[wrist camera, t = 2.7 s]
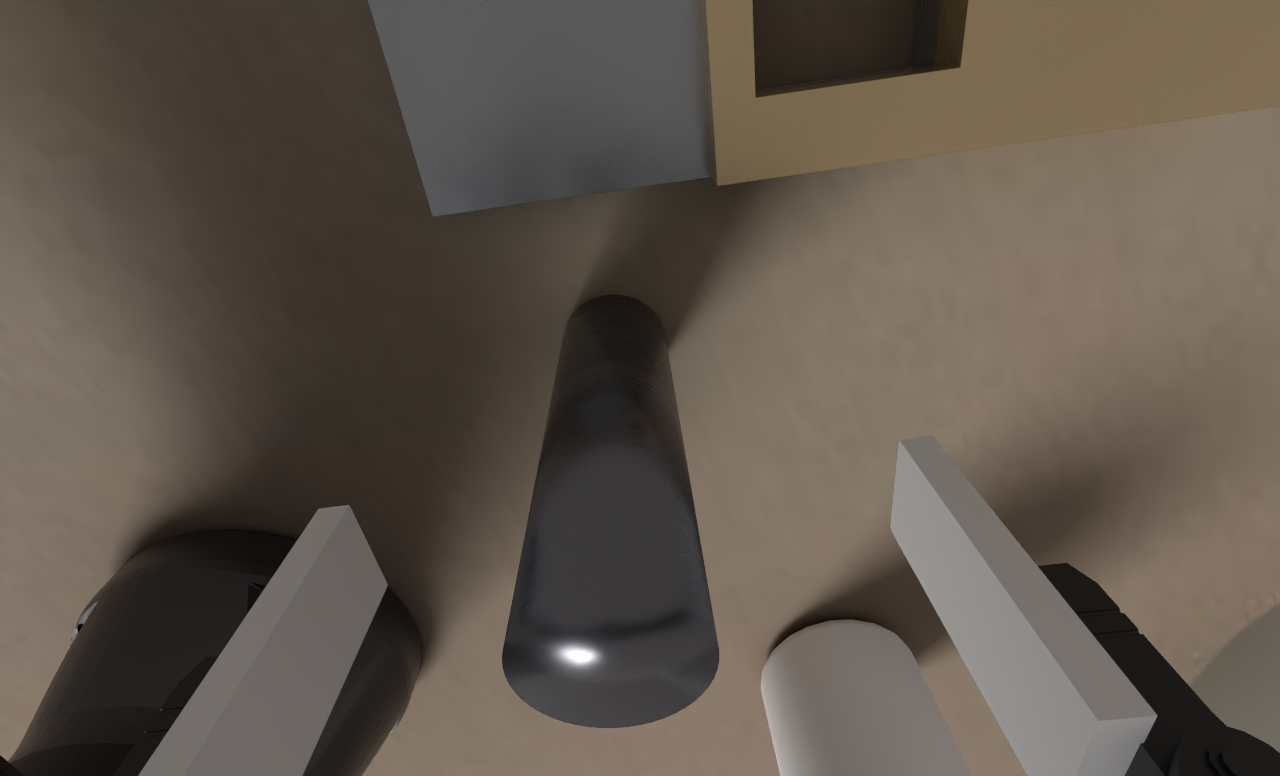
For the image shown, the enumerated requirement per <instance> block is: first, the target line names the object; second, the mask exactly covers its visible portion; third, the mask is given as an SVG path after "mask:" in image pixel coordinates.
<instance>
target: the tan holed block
mask: <svg viewBox="0 0 1280 776" xmlns="http://www.w3.org/2000/svg"><path fill="white" fill-rule="evenodd" d="M368 3H369V6H370V10H371V13H372V16H373V20H374V23H375V26H376V30H377V33H378V36H379V40H380V43H381V46H382V50H383V53H384V56H385V60H386V63H387V66H388V70H389V73H390V76H391V80H392V83H393V86H394V90H395V93H396V96H397V100H398V103H399V106H400V110H401V113H402V116H403V120H404V123H405V126H406V130H407V133H408V136H409V140H410V143H411V146H412V150H413V153H414V156H415V160H416V163H417V166H418V170H419V173H420V176H421V180H422V183H423V186H424V190H425V193H426V196H427V200H428V203H429V206H430V210H431V213H432V216H433V217H434V216H441V215H448V214H455V213H462V212H469V211H476V210H483V209H490V208H497V207H504V206H511V205H518V204H525V203H532V202H539V201H546V200H553V199H560V198H567V197H574V196H581V195H588V194H595V193H602V192H609V191H616V190H623V189H630V188H637V187H644V186H651V185H658V184H665V183H672V182H679V181H686V180H693V179H700V178H707V177H711V178H712V179H713V181H714V182H715V183H716V185H717V186H721V185H728V184H735V183H742V182H749V181H756V180H763V179H770V178H777V177H784V176H791V175H798V174H805V173H812V172H820V171H827V170H834V169H841V168H848V167H855V166H862V165H869V164H876V163H883V162H890V161H897V160H904V159H911V158H918V157H925V156H932V155H939V154H946V153H953V152H960V151H967V150H974V149H981V148H988V147H995V146H1002V145H1009V144H1016V143H1023V142H1030V141H1037V140H1044V139H1051V138H1058V137H1065V136H1072V135H1079V134H1086V133H1093V132H1100V131H1107V130H1114V129H1121V128H1128V127H1135V126H1142V125H1149V124H1156V123H1163V122H1170V121H1177V120H1184V119H1192V118H1199V117H1206V116H1213V115H1220V114H1227V113H1234V112H1241V111H1248V110H1255V109H1262V108H1269V107H1276V106H1280V0H918V8H917V20H916V32H915V44H914V56H913V66H909V67H902V68H896V69H889V70H882V71H875V72H869V73H862V74H855V75H848V76H842V77H835V78H828V79H821V80H815V81H808V82H801V83H794V84H787V85H781V86H774V87H767V88H760V89H755V63H754V32H753V0H368Z"/></svg>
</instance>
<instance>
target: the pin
mask: <svg viewBox="0 0 1280 776" xmlns="http://www.w3.org/2000/svg"><path fill="white" fill-rule="evenodd" d="M502 664H503V670H504V674H505V677H506V679H507V681H508V683H509V685H510V686H511V687H512V689H513V690H514V692H515V693H516V694H517V695H518V696H519V697H520V698H521V699H522V700H523V701H524V702H526V703H527V704H528V705H530V706H531V707H532V708H534V709H536V710H537V711H539V712H541V713H543V714H545V715H547V716H549V717H552V718H554V719H557V720H560V721H563V722H567V723H571V724H575V725H580V726H587V727H597V728H619V727H630V726H636V725H642V724H646V723H650V722H654V721H657V720H660V719H663V718H665V717H668V716H670V715H672V714H675V713H677V712H678V711H680V710H682V709H684V708H686V707H687V706H688V705H690V704H691V703H693V702H694V701H695V700H696V699H697V698H699V697H700V696H701V695H702V694H703V693H704V691H705V690H706V689H707V688H708V687H709V685H710V684H711V682H712V680H713V679H714V677H715V674H716V672H717V669H718V664H719V648H718V642H717V636H716V630H715V624H714V619H713V613H712V607H711V601H710V595H709V589H708V584H707V578H706V572H705V566H704V560H703V554H702V548H701V543H700V537H699V531H698V525H697V519H696V513H695V508H694V502H693V496H692V490H691V484H690V478H689V472H688V467H687V461H686V455H685V449H684V443H683V437H682V432H681V426H680V420H679V414H678V408H677V402H676V396H675V391H674V385H673V379H672V373H671V367H670V361H669V356H668V350H667V344H666V338H665V333H664V329H663V326H662V324H661V322H660V320H659V318H658V317H657V316H656V314H655V313H654V312H653V311H652V310H651V309H650V308H649V307H648V306H646V305H645V304H643V303H642V302H640V301H638V300H635V299H633V298H630V297H626V296H620V295H609V296H602V297H598V298H595V299H593V300H591V301H589V302H587V303H585V304H584V305H582V306H581V307H580V308H578V309H577V310H576V311H575V312H574V314H573V315H572V316H571V318H570V319H569V321H568V323H567V325H566V328H565V331H564V336H563V341H562V346H561V351H560V356H559V362H558V367H557V372H556V377H555V382H554V388H553V393H552V398H551V403H550V408H549V414H548V419H547V424H546V429H545V434H544V439H543V445H542V450H541V455H540V460H539V465H538V471H537V476H536V481H535V486H534V491H533V497H532V502H531V507H530V512H529V517H528V523H527V528H526V533H525V538H524V543H523V549H522V554H521V559H520V564H519V569H518V574H517V580H516V585H515V590H514V595H513V600H512V606H511V611H510V616H509V621H508V626H507V632H506V637H505V642H504V647H503V654H502Z"/></svg>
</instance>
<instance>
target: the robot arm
mask: <svg viewBox="0 0 1280 776" xmlns="http://www.w3.org/2000/svg"><path fill="white" fill-rule="evenodd" d="M890 530H891V531H892V533H893V535H894V537H895V539H896V540H897V542H898V544H899V546H900V548H901V549H902V551H903V553H904V555H905V556H906V558H907V560H908V562H909V564H910V565H911V567H912V569H913V571H914V573H915V574H916V576H917V578H918V580H919V582H920V583H921V585H922V587H923V589H924V591H925V592H926V594H927V596H928V598H929V600H930V601H931V603H932V605H933V607H934V609H935V610H936V612H937V614H938V616H939V618H940V619H941V621H942V623H943V625H944V627H945V628H946V630H947V632H948V634H949V635H950V637H951V639H952V641H953V643H954V644H955V646H956V648H957V650H958V652H959V653H960V655H961V657H962V659H963V661H964V662H965V664H966V666H967V668H968V670H969V671H970V673H971V675H972V677H973V679H974V680H975V682H976V684H977V686H978V688H979V689H980V691H981V693H982V695H983V697H984V698H985V700H986V702H987V704H988V706H989V707H990V709H991V711H992V713H993V714H994V716H995V718H996V720H997V722H998V723H999V725H1000V727H1001V729H1002V731H1003V732H1004V734H1005V736H1006V738H1007V740H1008V741H1009V743H1010V745H1011V747H1012V749H1013V750H1014V752H1015V754H1016V756H1017V758H1018V759H1019V761H1020V763H1021V765H1022V767H1023V768H1024V770H1025V772H1026V774H1027V776H1280V753H1279V752H1278V751H1276V750H1275V749H1274V748H1273V747H1271V746H1270V745H1268V744H1266V743H1265V742H1263V741H1261V740H1259V739H1257V738H1255V737H1253V736H1251V735H1250V734H1247V733H1246V732H1243V731H1241V730H1237V729H1234V728H1230V727H1227V726H1226V725H1225V724H1224V723H1223V722H1222V721H1221V720H1220V719H1219V718H1218V717H1217V716H1216V715H1215V714H1213V713H1212V711H1211V710H1210V709H1209V708H1208V707H1207V706H1206V705H1205V704H1204V703H1203V701H1202V700H1201V699H1200V698H1199V697H1198V696H1197V695H1196V694H1195V692H1194V691H1193V690H1192V689H1191V688H1190V687H1189V686H1188V684H1187V683H1186V682H1185V681H1184V680H1183V679H1182V678H1181V677H1180V675H1179V674H1178V673H1177V672H1176V671H1175V670H1174V669H1173V668H1172V666H1171V665H1170V664H1169V663H1168V662H1167V661H1166V660H1165V659H1164V658H1163V656H1162V655H1161V654H1160V653H1159V652H1158V651H1157V650H1156V649H1155V647H1154V646H1153V645H1152V644H1151V643H1150V642H1149V641H1148V640H1147V638H1146V637H1145V636H1144V635H1143V634H1139V632H1138V628H1137V627H1136V626H1135V625H1134V624H1133V623H1132V622H1131V620H1130V619H1129V618H1128V617H1127V616H1126V615H1125V614H1124V613H1121V612H1120V610H1119V609H1120V608H1119V607H1118V606H1117V605H1116V604H1115V603H1114V601H1113V600H1112V599H1111V598H1110V597H1109V596H1108V595H1107V594H1106V592H1105V591H1104V590H1103V589H1102V588H1101V587H1100V586H1099V585H1098V583H1096V582H1095V581H1093V580H1092V579H1090V578H1089V577H1087V576H1086V575H1084V574H1083V573H1081V572H1080V571H1078V570H1077V569H1075V568H1074V567H1072V566H1071V565H1069V564H1068V563H1061V564H1052V565H1043V566H1037V565H1036V564H1035V562H1034V561H1033V560H1032V559H1031V557H1030V556H1029V555H1028V554H1027V552H1026V551H1025V550H1024V549H1023V547H1022V546H1021V545H1020V544H1019V543H1018V541H1017V540H1016V539H1015V538H1014V536H1013V535H1012V534H1011V533H1010V531H1009V530H1008V529H1007V528H1006V526H1005V525H1004V524H1003V523H1002V521H1001V520H1000V519H999V518H998V516H997V515H996V514H995V513H994V511H993V510H992V509H991V508H990V506H989V505H988V504H987V503H986V501H985V500H984V499H983V498H982V497H981V495H980V494H979V493H978V492H977V490H976V489H975V488H974V487H973V485H972V484H971V483H970V482H969V480H968V479H967V478H966V477H965V475H964V474H963V473H962V472H961V470H960V469H959V468H958V467H957V465H956V464H955V463H954V462H953V460H952V459H951V458H950V457H949V455H948V454H947V453H946V452H945V451H944V449H943V448H942V447H941V446H940V444H939V443H938V442H937V441H936V439H935V438H934V437H933V436H928V437H919V438H911V439H902V440H899V446H898V456H897V466H896V476H895V486H894V496H893V505H892V515H891V525H890ZM387 586H388V584H387V582H386V580H385V578H384V576H383V574H382V571H381V569H380V567H379V565H378V563H377V561H376V559H375V557H374V555H373V553H372V551H371V549H370V547H369V545H368V542H367V540H366V538H365V536H364V534H363V532H362V530H361V528H360V526H359V524H358V522H357V520H356V518H355V516H354V513H353V511H352V509H351V507H350V505H345V506H336V507H328V508H319V509H318V510H317V512H316V513H315V515H314V516H313V518H312V519H311V521H310V522H309V524H308V525H307V527H306V528H305V530H304V531H303V533H302V534H301V536H300V537H299V538H298V540H297V541H295V540H291V539H288V538H283V537H279V536H274V535H268V534H262V533H254V532H243V531H209V532H199V533H192V534H186V535H182V536H178V537H174V538H171V539H167V540H164V541H162V542H159V543H156V544H154V545H152V546H150V547H148V548H146V549H144V550H143V551H141V552H139V553H138V554H137V555H135V556H134V557H133V558H131V559H130V560H129V561H128V562H127V563H126V564H125V565H124V566H123V567H122V568H121V569H120V570H119V571H118V572H117V573H116V574H115V575H114V576H113V577H112V578H111V579H110V580H109V581H108V582H107V583H106V584H105V586H104V587H103V588H102V589H101V590H100V591H99V592H98V593H97V594H96V595H95V596H94V597H93V598H92V600H91V601H90V602H89V603H88V605H87V606H86V608H85V609H84V611H83V612H82V614H81V615H80V618H79V620H78V622H77V625H76V627H75V630H74V633H73V635H72V637H71V643H70V649H69V650H68V652H67V654H66V656H65V658H64V660H63V661H62V663H61V665H60V667H59V669H58V671H57V673H56V674H55V676H54V678H53V680H52V682H51V684H50V686H49V688H48V690H47V692H46V694H45V696H44V698H43V700H42V702H41V704H40V706H39V708H38V710H37V712H36V714H35V716H34V718H33V720H32V722H31V724H30V726H29V728H28V730H27V732H26V734H25V736H24V738H23V740H22V742H21V743H20V745H19V747H18V748H17V750H16V752H15V753H14V755H13V756H12V757H11V758H10V759H9V761H6V760H5V759H4V758H3V757H1V756H0V776H362V775H363V773H364V772H365V770H366V769H367V767H368V766H369V764H370V763H371V761H372V760H373V758H374V757H375V755H376V754H377V752H378V750H379V749H380V747H381V746H382V744H383V743H384V741H385V740H386V738H387V737H388V736H389V735H390V734H391V733H392V732H393V731H394V729H395V728H396V727H397V725H398V724H399V722H400V720H401V719H402V717H403V715H404V713H405V711H406V709H407V706H408V704H409V701H410V698H411V695H412V692H413V688H414V685H415V682H416V679H417V676H418V673H419V670H420V666H421V660H422V649H421V642H420V638H419V634H418V631H417V629H416V626H415V624H414V622H413V620H412V618H411V617H410V615H409V614H408V612H407V611H406V609H405V608H404V607H403V605H402V604H401V603H400V601H399V600H398V599H397V598H396V597H395V596H394V595H393V594H392V593H391V592H390V591H389V590H388V589H387Z"/></svg>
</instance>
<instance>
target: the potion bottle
mask: <svg viewBox="0 0 1280 776" xmlns="http://www.w3.org/2000/svg"><path fill="white" fill-rule="evenodd" d="M761 692H762V697H763V701H764V705H765V710H766V714H767V719H768V723H769V727H770V732H771V736H772V741H773V745H774V749H775V754H776V758H777V763H778V767H779V771H780V776H973V775H972V773H971V771H970V769H969V767H968V765H967V763H966V761H965V759H964V757H963V755H962V753H961V751H960V749H959V747H958V745H957V743H956V741H955V739H954V737H953V735H952V733H951V731H950V729H949V727H948V725H947V723H946V721H945V719H944V717H943V715H942V713H941V711H940V709H939V707H938V705H937V703H936V701H935V699H934V697H933V695H932V693H931V691H930V689H929V687H928V684H927V682H926V680H925V678H924V676H923V674H922V672H921V670H920V668H919V666H918V664H917V662H916V660H915V658H914V656H913V654H912V652H911V650H910V649H909V648H908V646H907V645H906V644H905V643H904V642H903V641H902V640H901V639H900V638H899V636H898V635H897V634H895V633H893V632H892V631H890V630H888V629H885V628H883V627H881V626H879V625H877V624H875V623H870V622H864V621H858V620H852V619H847V620H831V621H826V622H822V623H818V624H815V625H811V626H807V627H805V628H804V629H802V630H800V631H798V632H796V633H794V634H792V635H790V636H788V637H787V638H786V639H785V640H784V641H783V642H782V643H781V644H779V645H778V646H777V647H776V648H775V649H774V650H773V651H772V653H771V654H770V656H769V658H768V660H767V661H766V663H765V665H764V667H763V669H762V677H761Z"/></svg>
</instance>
